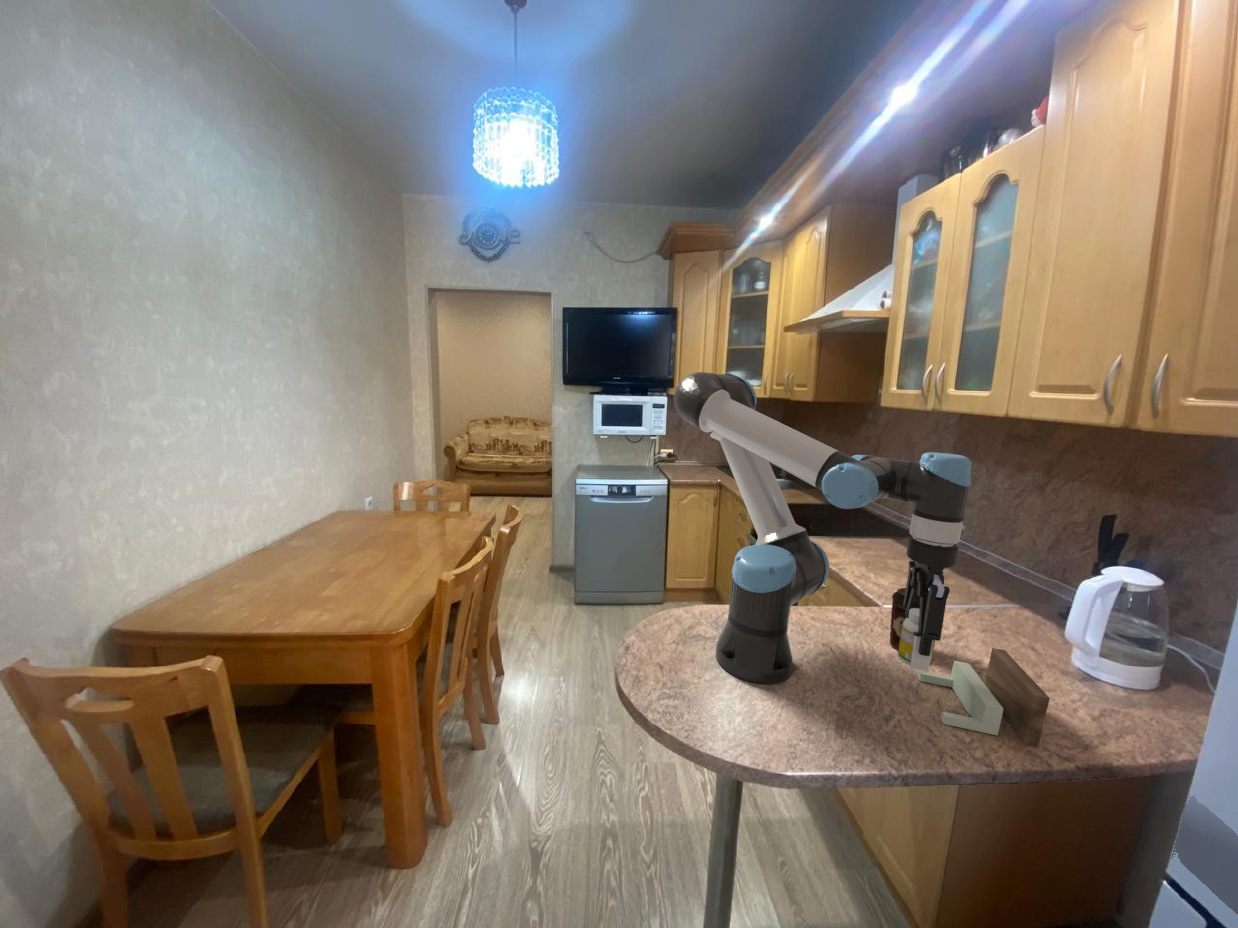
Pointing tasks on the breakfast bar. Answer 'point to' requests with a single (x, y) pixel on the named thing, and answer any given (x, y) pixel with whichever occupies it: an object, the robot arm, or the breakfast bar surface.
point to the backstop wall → (1017, 697)
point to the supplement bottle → (909, 637)
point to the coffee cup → (897, 617)
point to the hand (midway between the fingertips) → (913, 659)
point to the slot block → (969, 699)
